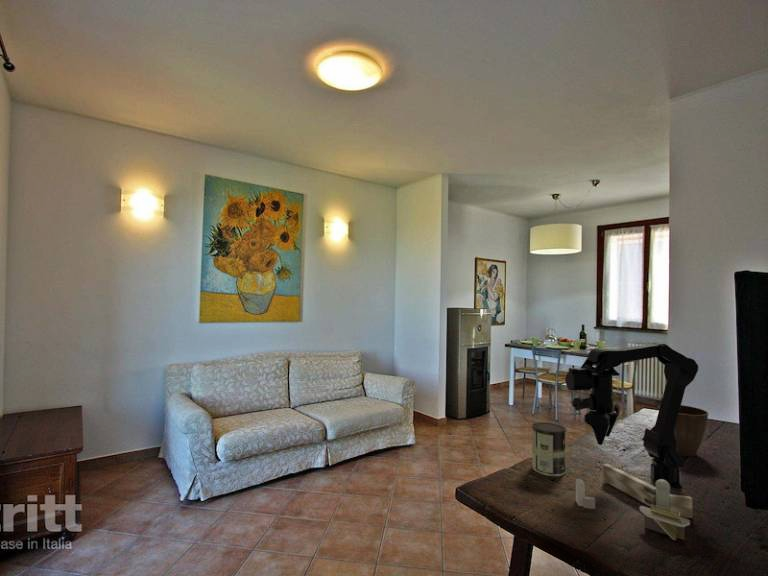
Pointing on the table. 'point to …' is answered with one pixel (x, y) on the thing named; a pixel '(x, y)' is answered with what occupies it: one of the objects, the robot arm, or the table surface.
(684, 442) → the plant pot
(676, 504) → the block
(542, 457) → the coffee can
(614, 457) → the table surface
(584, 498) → the cream l-shaped block
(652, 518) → the platform
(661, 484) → the hinge post
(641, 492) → the cream wooden bar
